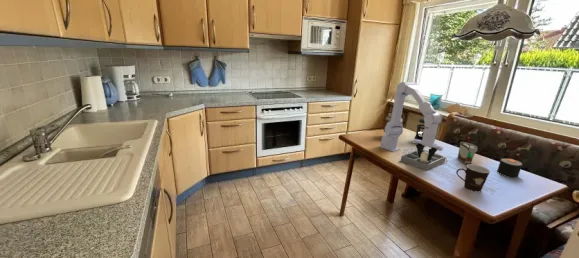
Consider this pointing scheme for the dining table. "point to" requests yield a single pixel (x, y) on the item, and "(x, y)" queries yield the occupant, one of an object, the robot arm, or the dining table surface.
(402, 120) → the apothecary jar
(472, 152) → the food container
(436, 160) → the grey compartment tray
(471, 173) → the coffee mug
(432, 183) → the dining table surface
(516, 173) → the sushi
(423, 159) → the egg
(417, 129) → the french press
